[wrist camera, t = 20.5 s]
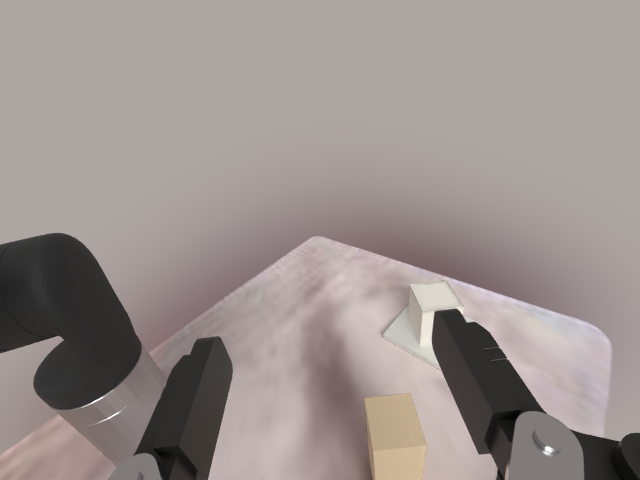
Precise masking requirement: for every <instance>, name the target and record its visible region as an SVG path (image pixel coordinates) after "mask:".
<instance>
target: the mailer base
mask: <svg viewBox="0 0 640 480" xmlns="http://www.w3.org/2000/svg"><path fill="white" fill-rule="evenodd" d="M364 402H365V414H366V426H367V437H368V449H369V461H370V467H371V474H372V480H422V477H423V470H424V463H425V455H426V448H427V444H426V441H425V438H424V435H423V432H422V428H421V425H420V422H419V419H418V416H417V413H416V409H415V406H414V403H413V400H412V397H411V394H410V393H407V394H398V395H389V396H380V397H371V398H364Z"/></svg>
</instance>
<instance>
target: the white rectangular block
mask: <svg viewBox="0 0 640 480" xmlns="http://www.w3.org/2000/svg"><path fill="white" fill-rule="evenodd" d="M463 307H464V306H463V304H462V303H461V301H460V300H459V298H458V297H457V295H456V294H455V292H454V291H453V289H452V288H451V286H450V285H449V283H448V282H447V280H442V281H434V282H427V283H419V284H411V285H410V293H409V316H408V318H409V320H410V323H411V325H412V328H413V330H414V333H415V335H416V337H417V340H418V342H419V345H420V346H421V345H429V344H432V329H433V320H434V313H435V311H438V310H447V309H455V308H457V309H458V310H459V311H460V312H461V314H462V312H463Z"/></svg>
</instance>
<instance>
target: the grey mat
mask: <svg viewBox="0 0 640 480" xmlns="http://www.w3.org/2000/svg"><path fill="white" fill-rule="evenodd" d="M408 316H409V304H408V305H407V306H406V308H405V309H404V310H403V311H402V312H401V313H400V315H399V316H398V317H397V318H396V319H395V321H394V322H393V323H392V324H391V325H390V327H389V328H388V329H387V330H386V331H385V332H384V334H383V338H384V339H386V340H388V341H389V342H391V343H393V344H395V345H396V346H398V347H400V348H402V349H404V350H405V351H407V352H409V353H411V354H412V355H414V356H416V357H418V358H420V359H421V360H423V361H425V362H427V363H428V364H430V365H432V366H434V367H436V368H437V369H439V370H441V368H440V366H439V363H438V361H437V359H436V357H435V354H434V351H433V347H432V344H429V345H421V346H420V345H419V342H418V340H417V337H416V335H415V333H414V330H413V328H412V325H411V323H410V320H409V318H408ZM463 317H464V318H465V320H466V322H467V323H468V322H477V321H475V320H473V319H470V318H468V317H466V316H463ZM477 323H478V324H479V325H480V322H477ZM441 371H442V370H441Z"/></svg>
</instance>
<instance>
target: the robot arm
mask: <svg viewBox="0 0 640 480" xmlns="http://www.w3.org/2000/svg"><path fill="white" fill-rule="evenodd" d="M55 336H60V337H62V338H63V339H64V341H62V342H61V343H60V344H59V345H58V346H57V347H55V348H54V349H53V350H52V351H51V352H50V353H49V354H48V356H47V357H46V358H45V359H44V360H43V362H42V363H41V364H40V366H39V368H38V369H37V372H36V374H35V376H34V389H35V391H36V393H37V395H38V396H39V397H40V398H41V399H42V400H43V401H44V402H46V403H47V404H48V405H49V406H50V407H51V408H52V409H53V410H55V411H56V412H57V413H58V414H59V415H60V416H61V417H62V418H64V419H65V420H66V421H67V422H68V423H69V424H71V425H72V426H73V427H74V428H75V429H76V430H77V431H78V432H79V433H81V434H82V435H83V436H84V437H85V438H86V439H87V440H88V441H90V442H91V443H92V444H93V445H94V446H95V447H96V448H97V449H98V450H100V451H101V452H102V453H103V454H104V455H105V456H106V457H107V458H109V459H110V460H111V461H112V462H113V463H114V464H115V465H116V466H117V467H118V468H117V469H116V470H115V471H114V472H113V473H112V474H111V476H110V477H109V479H108V480H208V476H209V472H210V468H211V464H212V459H213V455H214V451H215V447H216V443H217V438H218V434H219V430H220V426H221V422H222V418H223V413H224V409H225V405H226V401H227V397H228V392H229V388H230V384H231V380H232V373H233V369H232V362H231V359H230V357H229V355H228V353H227V351H226V348H225V346H224V344H223V342H222V340H221V338H220V337H218V336H217V337H209V338H201V339H197V340H196V342H195V344H194V346H193V349H192V351H191V354H190V355H184V356H183V357H182V358H181V359H180V360H179V362H178V363H177V364H176V365H175V366H174V368H173V369H172V371H171V373H170V376H169V378H168V380H166V378H165V377H164V375H163V374H162V372H161V371H160V369H159V368H158V366H157V365H156V363H155V362H154V360H153V359H152V357H151V356H150V355H149V353H148V352H147V350H146V349H145V347H144V346H143V344H142V343H141V341H140V340H139V338H138V337H137V335H136V334H135V331H134V329H133V326H132V324H131V321H130V318H129V316H128V314H127V312H126V311H125V309H124V307H123V306H122V304H121V302H120V301H119V299H118V297H117V295H116V294H115V292H114V290H113V289H112V287H111V285H110V283H109V281H108V279H107V278H106V276H105V274H104V272H103V270H102V268H101V267H100V265H99V263H98V262H97V260H96V259H95V257H94V256H93V255H92V253H91V252H90V251H89V250H88V249H87V248H86V246H85V245H84V244H83V243H81V242H80V241H78V240H77V239H76V238H74V237H72V236H70V235H67V234H62V233H52V234H46V235H41V236H36V237H31V238H27V239H23V240H18V241H14V242H10V243H6V244H2V245H0V353H3V352H6V351H9V350H13V349H16V348H20V347H23V346H26V345H30V344H33V343H36V342H39V341H42V340H46V339H49V338H52V337H55ZM432 347H433V351H434V354H435V357H436V359H437V361H438V363H439V366H440V368H441V370H442V372H443V375H444V377H445V379H446V381H447V384H448V386H449V388H450V390H451V393H452V395H453V397H454V399H455V402H456V404H457V406H458V409H459V411H460V413H461V415H462V418H463V420H464V422H465V424H466V427H467V429H468V431H469V433H470V436H471V438H472V440H473V442H474V445H475V447H476V449H477V451H478V454H489V453H491V455H492V457H493V459H494V461H495V463H496V465H497V466H496V471H495V477H494V480H640V433H631V434H629V435H626V436H625V437H624V438H623V439H622V440H621V441H620V442H619V441H614V440H610V439H605V438H601V437H596V436H592V435H587V434H583V433H579V432H576V431H573V430H571V429H569V428H568V427H567V426H565V425H564V424H563V423H562V422H560V421H559V420H557V419H556V418H554V417H552V416H550V415H548V414H547V413H546V412H545V411H544V410H543V409H542V408H541V406H540V405H539V404H538V402H537V401H536V399H535V398H534V397H533V395H532V394H531V392H530V391H529V389H528V388H527V386H526V385H525V383H524V382H523V380H522V379H521V378H520V376H519V375H518V373H517V372H516V370H515V369H514V367H513V366H512V364H511V363H510V362H509V360H507V357H506V356H505V354H504V353H503V351H502V350H501V349H500V348H499V345H498V344H497V343H496V341H495V340H494V338H493V337H492V335H491V334H490V332H488V331H487V330H486V329H485V328H483V327H482V326H481V325H479V324H478V323H477V322H468V323H467V322H466V320H465V318H464V317H463V315H462V314H461V312H460V311H459V310H458V309H457V308H455V309H447V310H438V311H435V313H434V320H433V329H432Z"/></svg>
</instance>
